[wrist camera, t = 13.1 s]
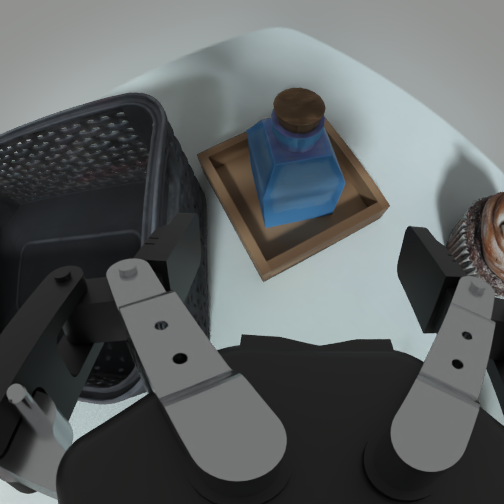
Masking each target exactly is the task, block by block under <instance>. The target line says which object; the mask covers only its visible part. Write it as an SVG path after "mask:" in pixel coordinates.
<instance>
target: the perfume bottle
mask: <svg viewBox="0 0 504 504" xmlns="http://www.w3.org/2000/svg"><path fill="white" fill-rule="evenodd" d="M273 104H274V109H273V112H272V115H271V118H268V119H263V120H261V121H259V122H258V123H257V124H255V125H254V126H253V127H251V128H250V129H248V130H247V139H248V147H249V155H250V163H251V170H252V174H253V178H254V183H255V187H256V191H257V195H258V199H259V204H260V208H261V212H262V216H263V221H264V225H265V228H269V227H274V226H278V225H283V224H288V223H293V222H298V221H302V220H307V219H312V218H317V217H322V216H327V215H332V213H333V211H334V209H335V207H336V204H337V202H338V200H339V197H340V195H341V193H342V190H343V188H344V186H345V180H344V177H343V174H342V171H341V169H340V166H339V163H338V161H337V158H336V155H335V153H334V150H333V147H332V145H331V142H330V140H329V137H328V135H327V132H326V130H325V127H324V123H325V117H324V112H325V105H324V102H323V100H322V99H321V97H320V96H318V95H317V94H316V93H315V92H312V91H310V90H308V89H303V88H291V89H287V90H284V91H282V92H281V93H279V94H278V95H277V97H276V98H275V100H274V103H273Z"/></svg>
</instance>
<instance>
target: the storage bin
mask: <svg viewBox="0 0 504 504" xmlns="http://www.w3.org/2000/svg"><path fill="white" fill-rule="evenodd" d="M120 112H124V114H117V113H120ZM103 116H108V117H106V118H103V119H102V118H101V117H103ZM88 120H94V121H89V122H87V121H88ZM123 120H126V122H124V123H123V122H122V121H123ZM110 123H114V125H108V124H110ZM74 124H79V125H77V126H73V125H74ZM64 127H66V128H67V129H61V128H64ZM95 127H99V128H97V129H95V130H94V129H93V128H95ZM127 128H133V129H127ZM83 130H85V131H86V132H81V133H80V131H83ZM112 131H118V132H115V133H112ZM48 132H53V133H51V134H49V133H48ZM103 133H104V134H105V135H101V136H99V135H100V134H103ZM39 135H43V137H37V136H39ZM66 135H71V136H69V137H67V136H66ZM131 135H136V136H134V137H133V136H131ZM121 137H123V138H124V139H118V138H121ZM56 138H60V139H59V140H54V139H56ZM85 138H90V139H87V140H85ZM28 139H31V140H30V141H26V140H28ZM76 140H77V141H78V142H75V141H76ZM103 141H108V142H106V143H104V142H103ZM19 142H21V143H22V144H17V143H19ZM43 142H48V143H46V144H44V143H43ZM72 142H73V143H72ZM138 142H139V143H138ZM95 143H96V145H92V144H95ZM34 145H38V146H36V147H33V146H34ZM60 145H65V146H62V147H61V146H60ZM91 145H92V146H91ZM122 145H125V146H122ZM10 146H11V148H9V149H8V148H7V147H10ZM113 146H114V147H115V148H111V147H113ZM53 147H54V148H55V149H50V148H53ZM78 148H82V149H78ZM140 148H145V149H142V150H141V149H140ZM1 149H2V150H3V151H0V158H1V159H0V177H1V178H0V334H1V333H2V332H3V330H4V329H5V328H6V326H7V325H8V324H9V322H10V321H11V320H12V318H13V317H14V316H15V314H16V313H17V312H18V311H19V309H20V308H21V307H22V306H23V304H24V303H25V302H26V301H27V299H28V298H29V297H30V296H31V294H32V293H33V292H34V291H35V290H36V288H37V287H38V286H39V285H40V284H41V282H42V281H43V280H44V279H45V278H46V277H47V276H48V275H49V274H50V273H51V272H53V271H54V270H56V269H58V268H61V267H65V266H77V267H80V268H81V269H82V270H83V274H84V277H85V279H92V278H101V277H107V276H106V273H107V270H108V269H109V268H110V267H111V266H112V265H113V264H115V263H117V262H119V261H122V260H126V259H133V258H134V256H135V255H136V254H137V252H138V251H139V250H140V248H141V247H142V246H143V244H145V242H146V241H147V239H149V237H150V235H151V234H152V233H153V232H154V230H156V229H158V228H159V227H161V226H163V225H169V224H170V222H171V221H172V220H173V218H174V217H175V216H176V214H177V213H197V214H198V218H199V229H200V243H201V261H200V266H199V268H198V271H197V273H196V275H195V278H194V280H193V282H192V285H191V287H190V290H189V292H188V294H187V297H186V299H185V302H184V305H185V307H186V308H187V310H188V311H189V312H190V314H191V315H192V317H193V318H194V320H195V321H196V322H197V324H198V325H199V327H200V328H201V329H202V331H203V332H204V334H205V335H206V336H207V338H208V339H209V334H208V303H207V255H206V199H205V195H204V193H203V191H202V189H201V187H200V186H199V182H198V180H197V179H196V177H195V176H194V172H193V170H192V168H191V166H190V165H189V164H188V160H187V158H186V156H185V154H184V152H183V151H182V149H181V145H180V143H179V141H178V140H177V138H176V137H175V136H174V132H173V129H172V127H171V125H170V123H169V122H168V121H167V116H166V113H165V111H164V109H163V107H162V105H161V104H160V103H159V101H158V100H156V99H155V98H154V97H152V96H150V95H147V94H144V93H126V94H121V95H116V96H112V97H108V98H104V99H100V100H97V101H93V102H89V103H86V104H83V105H79V106H76V107H73V108H70V109H67V110H63V111H60V112H57V113H55V114H52V115H49V116H46V117H43V118H41V119H38V120H35V121H33V122H30V123H27V124H24V125H22V126H19V127H17V128H14V129H12V130H9V131H7V132H5V133H3V134H0V150H1ZM22 149H27V150H25V151H23V150H22ZM69 150H71V151H72V152H67V151H69ZM99 150H101V151H99ZM130 150H133V151H130ZM16 151H17V152H18V153H14V152H16ZM39 151H43V152H42V153H39ZM96 151H99V152H96ZM85 153H89V154H85ZM30 154H34V155H31V156H29V155H30ZM55 154H59V155H58V156H56V155H55ZM113 154H116V155H113ZM148 154H149V155H148ZM6 155H9V156H8V157H5V156H6ZM47 156H49V157H50V158H45V157H47ZM103 156H107V157H103ZM72 157H75V158H72ZM131 157H134V158H131ZM20 158H23V159H20ZM122 158H123V159H124V160H119V159H122ZM63 159H66V160H63ZM89 159H93V160H91V161H89ZM12 160H15V161H12ZM35 160H39V161H35ZM81 161H82V163H78V162H81ZM27 162H30V163H28V164H26V163H27ZM53 162H55V163H53ZM106 162H109V163H106ZM137 162H141V163H137ZM2 163H6V164H4V165H3V164H2ZM51 163H53V164H51ZM96 164H99V165H96ZM19 165H20V166H19ZM41 165H45V166H41ZM66 165H69V166H66ZM122 165H125V166H122ZM17 166H19V167H17ZM11 167H12V168H11ZM58 167H61V168H58ZM83 167H84V169H83ZM113 167H116V168H113ZM9 168H10V169H9ZM32 168H34V169H32ZM140 168H142V169H140ZM74 169H76V170H74ZM2 170H4V171H2ZM23 170H27V171H23ZM46 170H49V171H46ZM99 170H101V171H99ZM91 171H92V172H91ZM38 172H41V173H38ZM61 172H65V173H61ZM115 172H118V173H115ZM145 172H147V173H145ZM15 173H16V174H15ZM8 174H10V175H8ZM53 174H56V175H53ZM106 174H107V175H106ZM29 175H30V176H29ZM131 175H132V176H131ZM21 176H23V177H21ZM68 176H72V177H68ZM122 176H124V177H122ZM43 177H44V178H43ZM36 178H37V179H36ZM110 178H112V179H110ZM13 179H14V180H13ZM58 179H59V180H58ZM51 180H52V181H51ZM26 181H27V182H26ZM64 182H66V183H64ZM40 183H41V184H40ZM11 185H12V186H11ZM4 186H7V187H4ZM50 190H51V191H50ZM35 193H36V194H35ZM63 335H64V331H63V328H61V330H60V332H59V333H58V336H57V345H58V343H59V342H60V340H61V338H62V337H63ZM145 392H146V389H145V387H144V384H143V382H142V380H141V377H140V375H139V373H138V370H137V368H136V366H135V363H134V361H133V358H132V356H131V354H130V351H129V349H128V346H127V344H126V341H125V340H123V341H113V342H104V344H103V346H102V348H101V350H100V352H99V354H98V357H97V359H96V361H95V363H94V365H93V367H92V369H91V371H90V374H89V376H88V378H87V380H86V382H85V384H84V387H83V389H82V391H81V393H80V396H79V398H78V400H77V401H82V402H88V403H95V404H112V403H117V402H120V401H123V400H125V399H128V398H130V397H134V396H137V395H139V394H142V393H145Z"/></svg>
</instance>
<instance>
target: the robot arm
mask: <svg viewBox="0 0 504 504" xmlns="http://www.w3.org/2000/svg"><path fill="white" fill-rule="evenodd" d="M200 261H201V243H200V229H199V218H198V214H197V213H177V214H176V216H175V217H174V218H173V220H172V221H171V222H170V224H169V225H163V226H161V227H159V228H158V229H156V230H154V232H153V233H152V234H151V235H150V237H149V239H147V241H146V242H145V244H143V246H142V247H141V248H140V250H139V251H138V252H137V254H136V255H135V256H134V258H133V259H126V260H122V261H119V262H117V263H115V264H113V265H112V266H111V267H110V268H109V269H108V270H107V273H106V276H107V277H101V278H92V279H85V277H84V274H83V270H82V269H81V268H80V267H77V266H65V267H61V268H58V269H56V270H54V271H53V272H51V273H50V274H49V275H48V276H47V277H46V278H45V279H44V280H43V281H42V282H41V284H40V285H39V286H38V287H37V288H36V290H35V291H34V292H33V293H32V294H31V296H30V297H29V298H28V299H27V301H26V302H25V303H24V304H23V306H22V307H21V308H20V309H19V311H18V312H17V313H16V314H15V316H14V317H13V318H12V320H11V321H10V322H9V324H8V325H7V326H6V328H5V329H4V330H3V332H2V333H1V334H0V479H1V480H3V481H6V482H7V483H8V484H10V485H11V486H12V487H14V488H15V489H17V490H18V491H20V492H22V493H27V494H30V493H34V492H37V491H38V492H40V493H42V494H45V495H47V496H49V497H52V498H54V499H57V500H58V504H504V426H503V425H502V424H500V423H499V422H498V421H497V420H496V419H494V418H493V417H492V416H491V415H489V414H488V413H487V412H486V411H485V410H483V409H482V408H481V407H480V403H479V402H478V397H479V394H480V390H481V386H482V383H483V379H484V375H485V371H486V369H487V372H488V374H489V377H490V379H491V382H492V384H493V387H494V390H495V392H496V395H497V398H498V401H499V403H500V406H501V409H502V412H503V415H504V299H500V298H496V297H495V292H494V290H493V288H492V287H491V286H490V285H489V284H488V283H487V282H485V281H483V280H482V279H480V278H477V277H473V276H468V275H467V274H466V273H465V271H464V270H463V269H462V267H461V266H460V265H459V263H458V262H456V259H455V258H454V257H453V256H452V254H451V253H450V252H449V250H448V249H447V248H446V247H445V246H444V245H442V244H441V243H439V242H438V241H437V240H436V239H435V238H434V237H433V235H432V234H431V233H430V232H429V230H428V229H427V228H423V227H412V226H409V227H407V229H406V231H405V235H404V239H403V243H402V247H401V252H400V256H399V260H398V265H397V273H398V277H399V280H400V282H401V284H402V286H403V288H404V290H405V292H406V295H407V297H408V299H409V301H410V303H411V306H412V308H413V310H414V312H415V315H416V317H417V319H418V322H419V324H420V326H421V329H422V331H423V333H437V336H436V338H435V340H434V342H433V344H432V346H431V348H430V351H429V353H428V355H427V357H426V359H425V361H424V362H423V361H421V360H419V359H417V358H415V357H413V356H411V355H409V354H406V353H403V352H400V351H395V350H393V346H392V343H391V340H390V339H356V340H350V341H345V342H340V343H334V344H328V345H322V346H318V345H313V344H308V343H304V342H299V341H295V340H291V339H287V338H282V337H273V336H257V335H243V334H242V336H241V342H240V345H238V346H232V347H227V348H223V349H220V350H216V349H215V347H214V346H213V345H212V343H211V342H210V341H209V339H208V338H207V336H206V335H205V334H204V332H203V331H202V329H201V328H200V327H199V325H198V324H197V322H196V321H195V320H194V318H193V317H192V315H191V314H190V312H189V311H188V310H187V308H186V307H185V305H184V302H185V299H186V297H187V294H188V292H189V290H190V287H191V285H192V282H193V280H194V278H195V275H196V273H197V271H198V268H199V266H200ZM61 328H63V331H64V335H63V337H62V338H61V340H60V342H59V343H58V345H57V336H58V333H59V332H60V330H61ZM123 340H125V341H126V344H127V346H128V349H129V351H130V354H131V356H132V358H133V361H134V363H135V366H136V368H137V370H138V373H139V375H140V377H141V380H142V382H143V384H144V387H145V389H146V392H147V395H146V396H144V397H143V398H141V399H140V400H138V401H137V402H135V403H134V404H132V405H131V406H129V407H128V408H126V409H125V410H123V411H121V412H120V413H118V414H117V415H115V416H114V417H112V418H111V419H109V420H107V421H106V422H104V423H103V424H101V425H99V426H98V427H96V428H95V429H93V430H91V431H90V432H88V433H86V434H85V435H83V436H82V437H80V438H79V439H77V440H76V441H75V442H74V443H73V444H72V441H73V430H72V427H71V425H70V423H69V422H68V421H69V419H70V417H71V414H72V412H73V409H74V407H75V405H76V403H77V400H78V398H79V396H80V393H81V391H82V389H83V387H84V384H85V382H86V380H87V378H88V376H89V374H90V371H91V369H92V367H93V365H94V363H95V361H96V359H97V357H98V354H99V352H100V350H101V348H102V346H103V344H104V342H113V341H123Z"/></svg>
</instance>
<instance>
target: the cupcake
mask: <svg viewBox="0 0 504 504" xmlns="http://www.w3.org/2000/svg"><path fill="white" fill-rule="evenodd" d="M447 249H448V250H449V252H450V253H451V254H452V256H453V257H454V258H455V259H456V262H458V263H459V265H460V266H461V267H462V269H463V270H464V271H465V273H466V274H467V275H468V276H473V277H477V278H480V279H482V280H483V281H485V282H487V283H488V284H489V285H490V286H491V287H492V288H493V290H494V292H495V296H498V297H504V192H500V193H498V194H496V195H494V196H489V197H487V198H482V200H480V199H478V201H477V202H475V201H474V203H473V204H472V206H471V207H470V208H469V209H468V210H467V212H466V213H465V214H464V216H463V217H462V219H461V220H460V221H459V222H458V224H457V225H456V226H455V228H454V229H453V230H452V233H451V235H450V237H449V239H448V242H447Z"/></svg>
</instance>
